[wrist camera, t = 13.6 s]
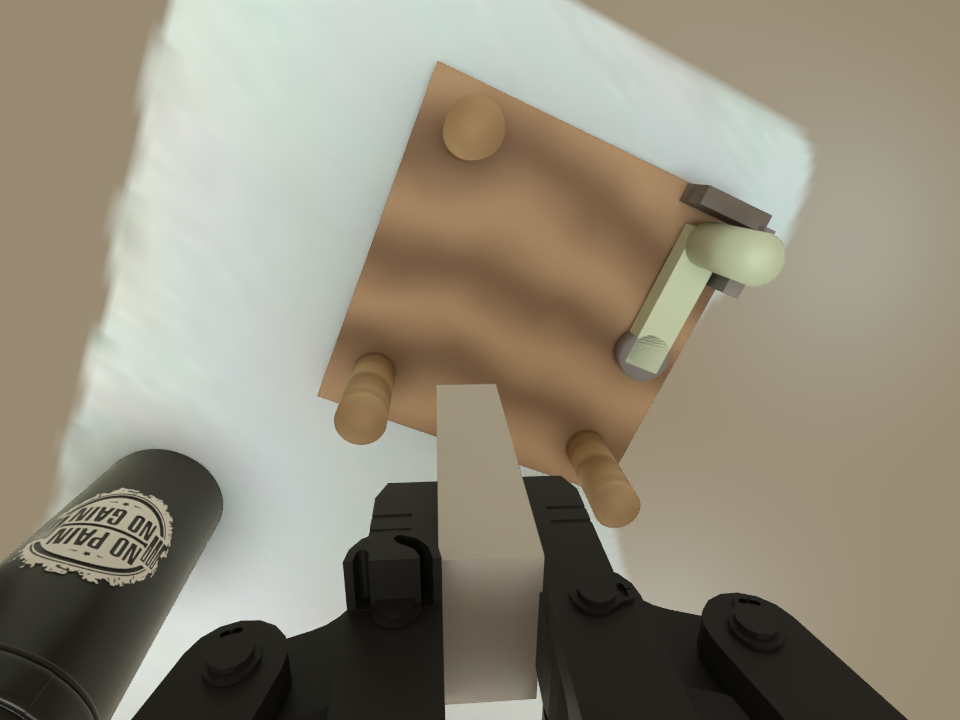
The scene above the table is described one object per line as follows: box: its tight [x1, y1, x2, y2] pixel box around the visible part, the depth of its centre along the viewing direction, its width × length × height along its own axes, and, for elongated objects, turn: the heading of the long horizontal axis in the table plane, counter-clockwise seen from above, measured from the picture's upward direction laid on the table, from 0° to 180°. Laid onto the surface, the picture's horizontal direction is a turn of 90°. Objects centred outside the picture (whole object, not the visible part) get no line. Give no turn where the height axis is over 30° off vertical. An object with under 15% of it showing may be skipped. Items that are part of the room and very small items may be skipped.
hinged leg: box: [614, 222, 786, 381], centre depth 33 cm, size 11×3×7 cm, turn 157°
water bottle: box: [0, 450, 223, 720], centre depth 30 cm, size 10×10×23 cm
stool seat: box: [317, 61, 775, 528], centre depth 34 cm, size 22×22×10 cm
